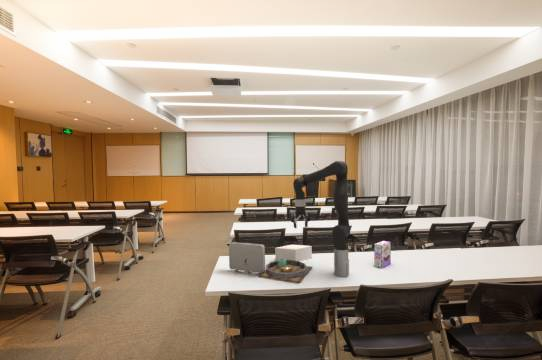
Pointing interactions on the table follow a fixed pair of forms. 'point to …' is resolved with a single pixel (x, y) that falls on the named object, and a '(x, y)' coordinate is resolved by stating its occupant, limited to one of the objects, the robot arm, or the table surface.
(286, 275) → the ring gear
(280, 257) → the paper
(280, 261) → the teal short hollow cylinder
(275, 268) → the carrier plate
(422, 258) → the table surface
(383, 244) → the candy box
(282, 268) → the sun gear
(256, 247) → the network device
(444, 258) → the table surface
